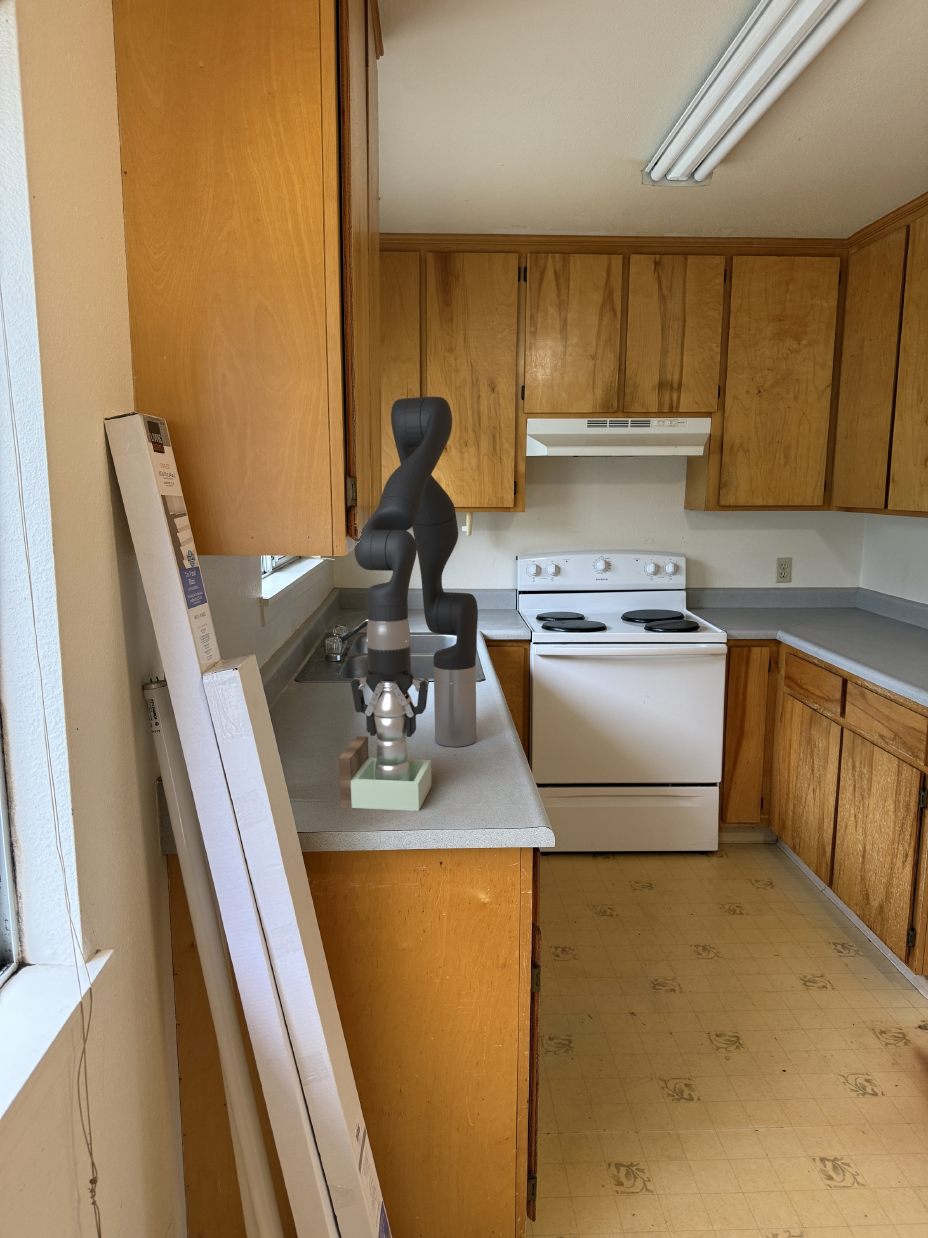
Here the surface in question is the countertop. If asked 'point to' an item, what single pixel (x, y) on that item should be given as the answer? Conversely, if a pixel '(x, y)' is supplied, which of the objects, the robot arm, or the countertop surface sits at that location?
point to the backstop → (351, 767)
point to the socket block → (391, 788)
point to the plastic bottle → (390, 737)
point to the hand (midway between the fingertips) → (391, 734)
